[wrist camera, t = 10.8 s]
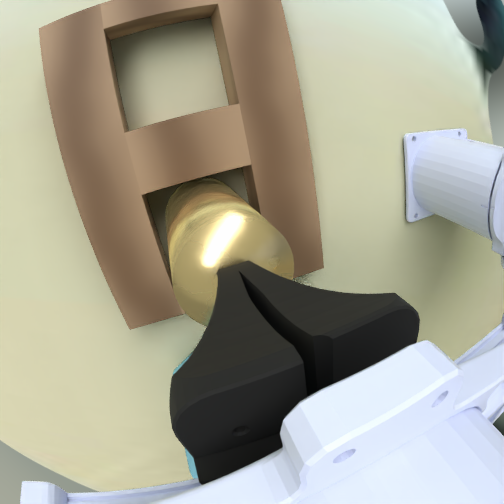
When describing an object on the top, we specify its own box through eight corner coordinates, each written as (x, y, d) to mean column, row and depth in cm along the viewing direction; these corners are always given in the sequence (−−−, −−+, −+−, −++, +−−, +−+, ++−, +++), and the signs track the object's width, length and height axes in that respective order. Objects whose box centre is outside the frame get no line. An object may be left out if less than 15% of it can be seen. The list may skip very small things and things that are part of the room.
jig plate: (261, -10, 15) (274, -23, 13) (308, 253, 24) (323, 267, 22) (51, 38, 12) (38, 28, 10) (131, 309, 21) (130, 329, 19)
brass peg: (235, 171, 20) (290, 205, 12) (244, 241, 22) (296, 312, 14) (158, 186, 19) (158, 233, 11) (173, 257, 21) (187, 340, 13)
